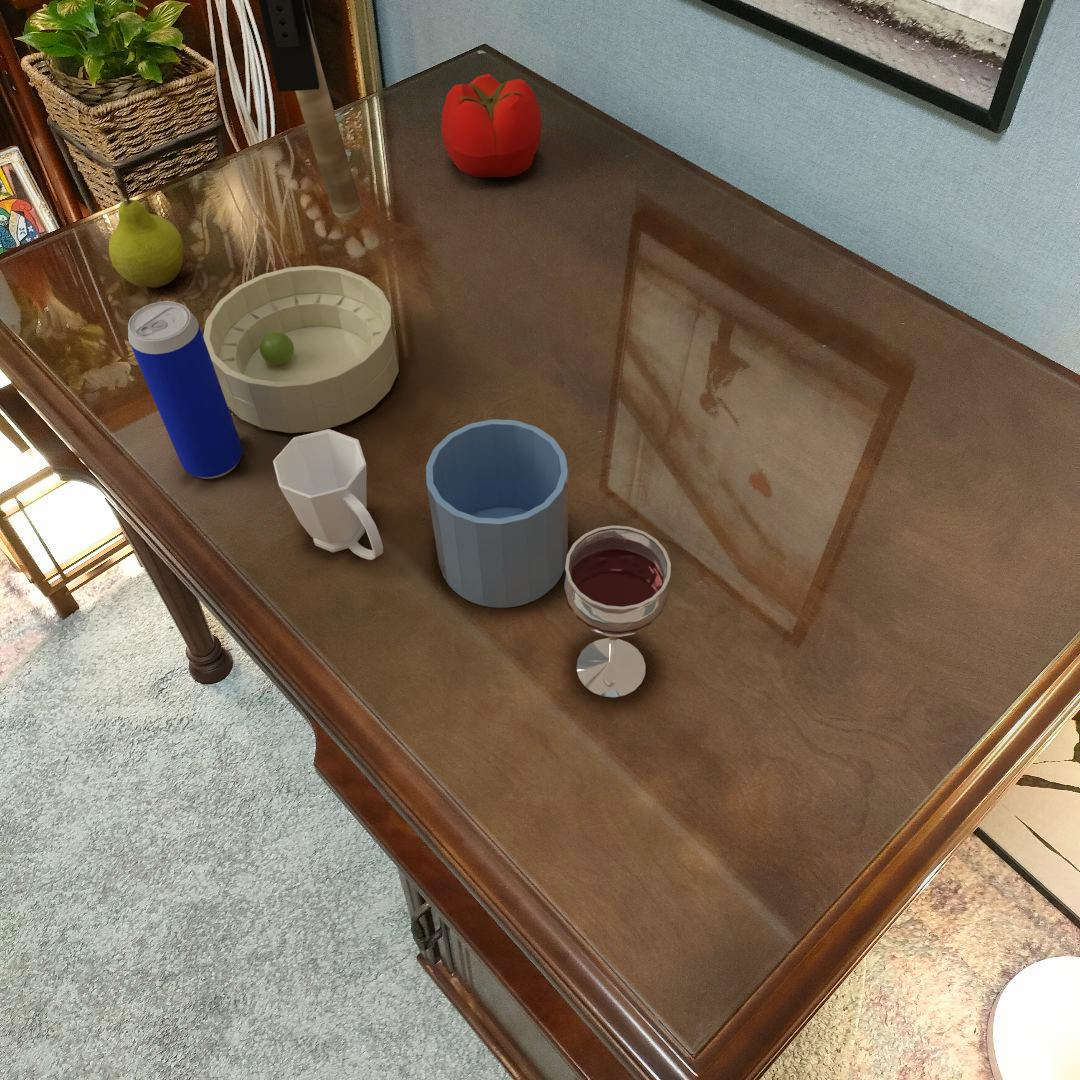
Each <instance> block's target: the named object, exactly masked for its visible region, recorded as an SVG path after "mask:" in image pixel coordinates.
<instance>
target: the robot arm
mask: <svg viewBox="0 0 1080 1080" xmlns="http://www.w3.org/2000/svg"><path fill="white" fill-rule="evenodd" d="M258 4H259V9H260V14H261V19H262V23H263V27H264V32H265V36H266V41H267V46H268V50H269V54H270V59H271V64H272V69H273V73H274V77H275V82H276V87H277V90H278V92H279V93H283V92H295V91H300V90H315V89H319V79H318V73H317V68H316V63H315V57H314V52H313V47H312V41H311V36H310V30H309V25H310V28H311V32H312V35H313V39H314V42H315V46H316V49H317V53H318V56H319V60H320V63H321V58H320V53H319V52H320V51H319V47H318V40H317V36H316V30H315V24H314V20H313V14H312V9H311V3H310V0H258ZM307 18H308V20H307ZM308 21H309V25H308ZM321 64H322V63H321Z"/></svg>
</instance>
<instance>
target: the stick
mask: <svg viewBox="0 0 1080 1080" xmlns="http://www.w3.org/2000/svg"><path fill="white" fill-rule="evenodd" d="M307 20H308V18H307ZM308 25H309V21H308ZM309 30H310V36H311V41H312V47H313V52H314V57H315V63H316V68H317V73H318V79H319V89H315V90H300V91H294V92H295V95H296V98H297V99H296V100H297V102H298V105H299V108H300V111H301V115H302V118H303V121H304V124H305V129H306V130H307V135H308V137H309V141H310V143H311V147H312V150H313V153H314V156H315V159H316V160H315V161H316V163H317V166H318V169H319V172H320V175H321V179H322V182H323V185H324V188H325V191H326V195H327V198H328V201H329V204H330V205H329V206H330V207H331V210H332V213H333V214H334V215H335V217H337V218H338V219H339V220H343V221H351V220H354V219H355V218H356V217H357V216H358V215H359V213H360V211H361V200H360V197H359V193H358V190H357V187H356V182H355V179H354V175H353V172H352V169H351V165H350V162H349V159H348V154H347V151H346V148H345V145H344V141H343V137H342V133H341V131H340V127H339V123H338V119H337V117H336V113H335V109H334V105H333V102H332V98H331V95H330V91H329V87H328V84H327V81H326V77H325V73H324V71H323V68H322V67H323V66H322V63H320V62H321V59H320V60H319V57H320V55H319V56H318V53H317V49H316V46H315V42H314V39H313V35H312V32H311V28H310V25H309Z"/></svg>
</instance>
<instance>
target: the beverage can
mask: <svg viewBox="0 0 1080 1080" xmlns="http://www.w3.org/2000/svg"><path fill="white" fill-rule="evenodd" d="M203 335H204V334H203V332H202V329H201V325H200V323H199V321H198V318H197V317H196V316H195V315H194V313H192V311H191V310H190V309H189V308H188V307H187V306H186V305H184V304H181V302H176V301H171V300H170V301H169V300H168V301H164V300H163V301H155V302H153V303H152V302H151V303H150V304H147V305H145V306H143V307H140V308H139V309H137V310H136V311H135V312H134V313H133V314H132V315H131V317H130V318H129V321H128V323H127V337H128V339H127V340H128V343H129V345H130V348H131V350H132V352H133V354H134V357H135V359H136V362H137V364H138V366H139V369H140V372H141V374H142V375H143V378H144V380H145V383H146V385H147V387H148V390H149V392H150V394H151V397H152V399H153V401H154V404H155V406H156V408H157V411H158V414H159V416H160V418H161V420H162V423H163V425H164V428H165V430H166V432H167V434H168V437H169V439H170V442H171V444H172V446H173V448H174V450H175V453H176V456H177V457H178V460H179V462H180V464H181V466H182V469H183V470H184V471H185V472H186V473H188V474H189V475H191V476H194V477H196V478H199V479H206V480H209V479H210V480H211V479H217V478H221V477H223V476H225V475H228V474H229V473H230V472H231V471H233V470H234V469H235V468H236V467H237V465H238V464H239V462H240V460H241V458H242V455H243V446H242V443H241V440H240V437H239V435H238V431H237V428H236V426H235V422H234V420H233V418H232V417H233V416H232V415H231V411H230V408H229V407H228V406H227V403H226V400H225V397H224V394H223V391H222V389H221V386H220V383H219V380H218V377H217V374H216V372H215V369H214V366H213V363H212V360H211V357H210V355H209V352H208V349H207V346H206V343H205V340H204V337H203Z"/></svg>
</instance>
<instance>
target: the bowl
mask: <svg viewBox="0 0 1080 1080" xmlns="http://www.w3.org/2000/svg"><path fill="white" fill-rule="evenodd" d="M394 323H395V322H394V317H393V310H392V306H391V304H390V302H389V300H388V298H387V297H386V295H385V293H384V291H383V290H382V289H381V288H380V287H378V286H377V285H376V284H375V283H373V282H372V281H371V280H369V278H367V277H365V276H363V275H360V274H358V273H355V272H353V271H350V270H347V269H344V268H339V267H331V266H323V265H304V266H291V267H285V268H282V269H278V270H274V271H271V272H266V273H262V274H260V275H258V276H255V277H254V278H252V279H249V280H248V281H246V282H243V283H241V284H239V285H238V286H236V287H235V288H233V289H232V290H231V291H229V293H227V294H226V295H225V296H224V297H222V298H221V299H220V300H218V302H217V303H216V304H215V306H214V308H213V309H212V311H211V312H210V314H209V315H208V317H207V319H206V320H205V324H204V330H203V334H202V335H203V337H204V340H205V343H206V346H207V349H208V352H209V355H210V357H211V360H212V363H213V366H214V369H215V372H216V374H217V377H218V380H219V383H220V386H221V389H222V391H223V394H224V397H225V400H226V403H227V406H228V409H229V410H231V411H232V412H233V413H234V414H235V415H236V416H237V417H238V418H239V419H240V420H243V421H245V422H246V423H249V424H251V425H253V426H256V427H258V428H259V429H262V430H267V431H274V432H280V433H281V432H282V433H287V434H295V433H296V434H298V433H310V432H319V431H323V430H327V429H331V428H333V427H338V426H340V425H344V424H347V423H350V422H351V421H352V422H353V420H355V419H357V418H359V417H360V416H362V415H363V414H365V413H367V412H368V411H369V412H370V411H371V410H372V409H373V408H375V407H376V406H377V405H378V403H379V402H381V400H383V398H385V396H386V395H387V394H388V393H390V391H391V389H392V387H393V385H394V382H395V380H396V378H397V376H398V374H399V371H400V368H399V367H400V365H399V364H400V362H399V361H400V359H399V357H400V355H399V349H398V342H397V336H396V335H397V334H396V330H395V324H394ZM272 332H280V333H283V334H285V335H287V336H288V337H289V338H290V339H291V341H292V343H293V346H294V353H293V356H292V358H291V359H290V361H289V362H287V363H286V364H284V365H279V366H276V365H272V364H269V363H268V362H266V361H265V360H264V358H263V357H262V355H261V352H260V344H261V341H262V339H263V338H264V337H265V336H266V335H267V334H269V333H272Z"/></svg>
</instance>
